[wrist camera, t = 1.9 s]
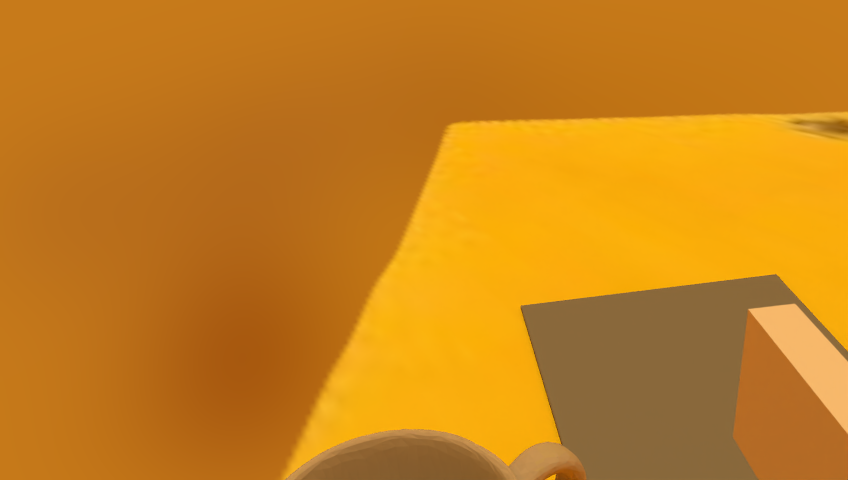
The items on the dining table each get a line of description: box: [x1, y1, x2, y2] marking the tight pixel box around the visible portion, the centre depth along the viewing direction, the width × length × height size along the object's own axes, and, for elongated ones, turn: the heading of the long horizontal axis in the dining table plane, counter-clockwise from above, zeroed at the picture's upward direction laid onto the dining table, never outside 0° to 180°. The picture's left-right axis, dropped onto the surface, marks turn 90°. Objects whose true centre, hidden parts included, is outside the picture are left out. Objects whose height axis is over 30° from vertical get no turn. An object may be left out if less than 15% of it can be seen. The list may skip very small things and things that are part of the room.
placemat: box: [521, 274, 848, 480], centre depth 43 cm, size 18×20×1 cm
